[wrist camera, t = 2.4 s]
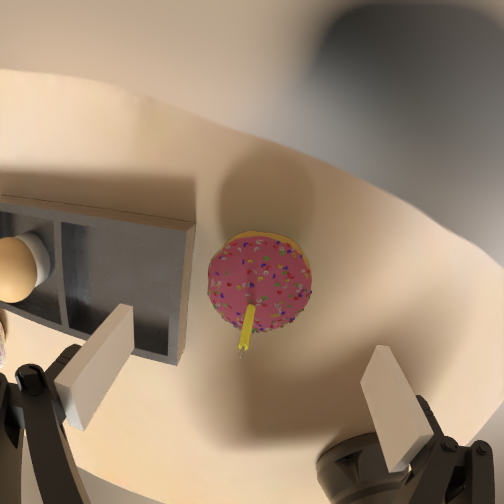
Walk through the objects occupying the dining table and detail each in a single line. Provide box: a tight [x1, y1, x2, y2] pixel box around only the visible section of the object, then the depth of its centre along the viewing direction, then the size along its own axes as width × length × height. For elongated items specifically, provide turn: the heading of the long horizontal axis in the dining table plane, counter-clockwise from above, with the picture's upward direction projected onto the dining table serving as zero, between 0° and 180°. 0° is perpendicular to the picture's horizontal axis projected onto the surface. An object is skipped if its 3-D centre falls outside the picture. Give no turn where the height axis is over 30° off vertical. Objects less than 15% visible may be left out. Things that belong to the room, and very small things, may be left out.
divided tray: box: [0, 195, 196, 366], centre depth 28 cm, size 27×14×4 cm, turn 81°
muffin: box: [0, 232, 50, 303], centre depth 26 cm, size 7×7×8 cm
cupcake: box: [208, 231, 312, 358], centre depth 23 cm, size 9×8×12 cm
